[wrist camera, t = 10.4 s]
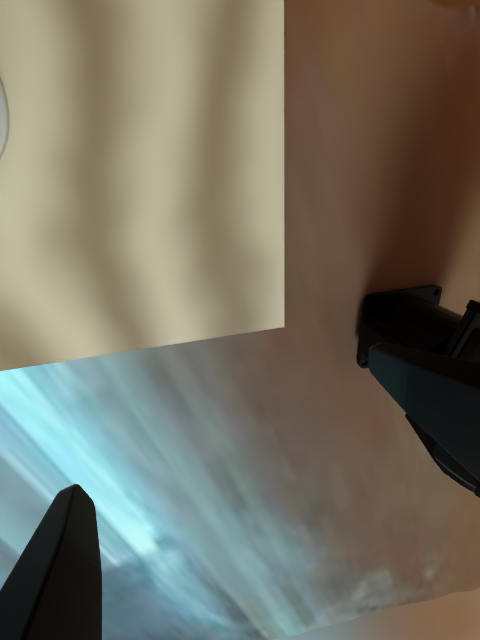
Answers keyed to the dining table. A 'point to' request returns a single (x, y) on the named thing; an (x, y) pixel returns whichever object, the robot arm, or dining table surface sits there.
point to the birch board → (139, 175)
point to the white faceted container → (3, 119)
